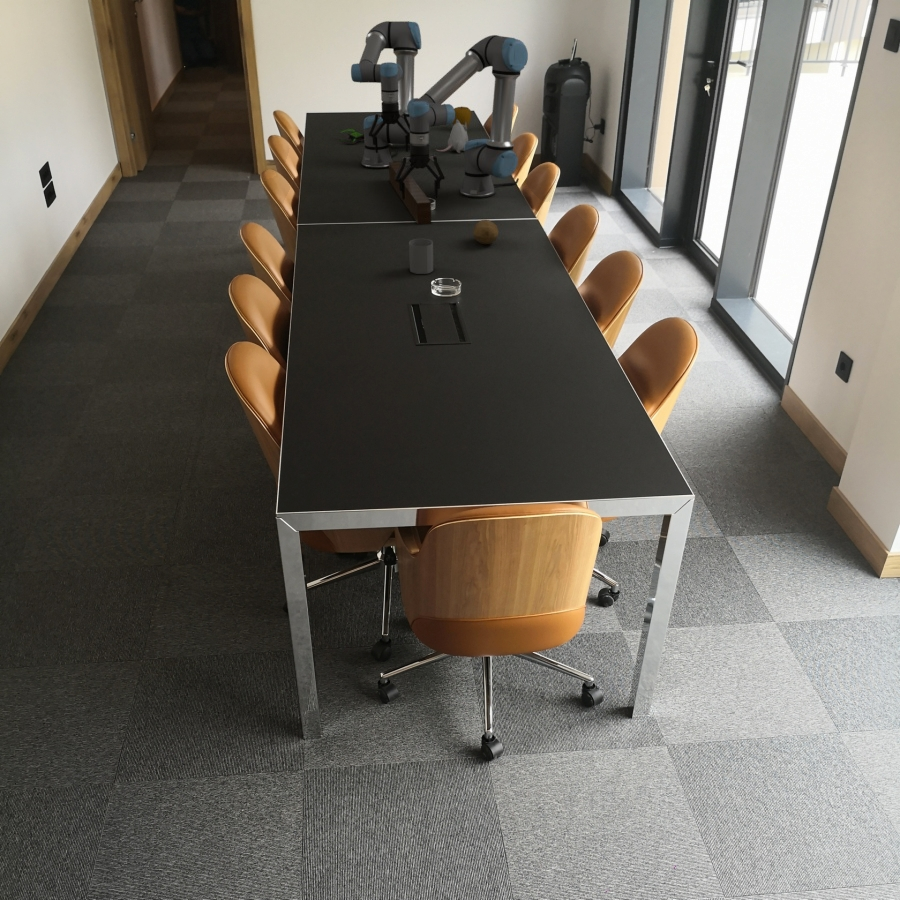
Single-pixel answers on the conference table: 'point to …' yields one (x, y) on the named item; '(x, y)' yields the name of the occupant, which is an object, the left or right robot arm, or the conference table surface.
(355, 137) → the green toy turtle
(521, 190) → the conference table surface
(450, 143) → the toy
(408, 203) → the beam
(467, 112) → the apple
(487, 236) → the potato
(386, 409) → the conference table surface
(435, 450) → the conference table surface
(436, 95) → the right robot arm
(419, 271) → the cup
